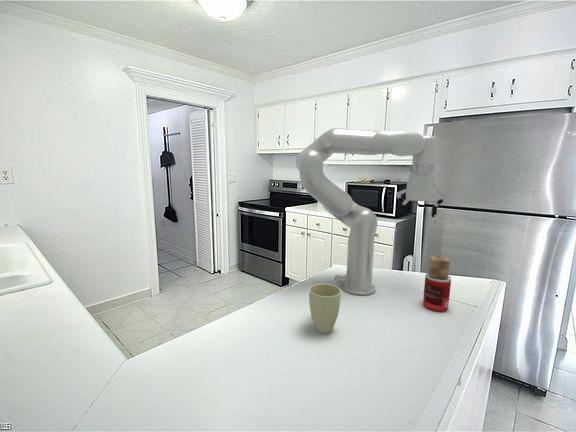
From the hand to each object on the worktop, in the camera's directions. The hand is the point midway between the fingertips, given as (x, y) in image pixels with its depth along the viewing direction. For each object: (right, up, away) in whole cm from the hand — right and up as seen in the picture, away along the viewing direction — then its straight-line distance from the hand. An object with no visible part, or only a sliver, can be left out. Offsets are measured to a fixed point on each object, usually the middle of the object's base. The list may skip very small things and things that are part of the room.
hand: (418, 215), depth 110 cm
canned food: (0, -31, -12) cm, 33 cm away
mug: (-40, -33, -26) cm, 57 cm away
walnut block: (0, -20, -14) cm, 24 cm away
